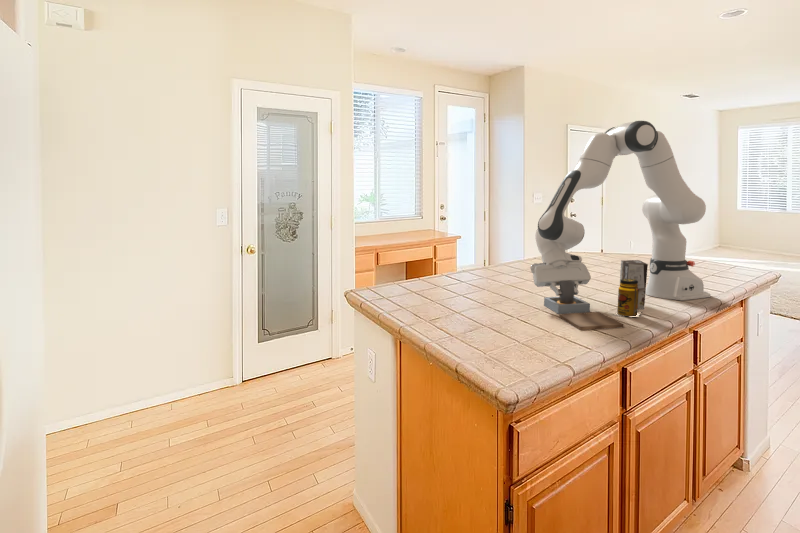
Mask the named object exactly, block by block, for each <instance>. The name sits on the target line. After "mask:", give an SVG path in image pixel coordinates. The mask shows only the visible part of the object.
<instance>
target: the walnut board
mask: <svg viewBox="0 0 800 533" xmlns="http://www.w3.org/2000/svg"><path fill="white" fill-rule="evenodd" d="M558 317H559V318H560V319H561V320H562V321H564V322H566V323H568V324H570V325H571V326H573V327H574V328H576V329H578V330H579V331H585V330H586V331H587V330H588V331H589V330H600V329H601V330H602V329H603V330H604V328H606V329H618V328H617V327H622V328H624V326H625V325H624V323H622V322H620V321H618V320H616V319H614V318H612V317H610V316H608V315H606V314H604V313H602V312H600V311H590V312H585V313H567V314H558Z"/></svg>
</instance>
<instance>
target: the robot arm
mask: <svg viewBox="0 0 800 533" xmlns="http://www.w3.org/2000/svg"><path fill="white" fill-rule="evenodd" d="M631 154H634V155H635V156H636V157H637V160H638V163H639V164H638V165H639V166H640V169H641V173H642V175H643V180H644V182H645V184H646V186H647V188H648V189H650V190H651V191H653V193H654V195H651V196H648V197H647V198H646V199H645V200H644V202H643V204H642V209H641V210H642V214H643V216H644V217H645V218H646V219H647V221H648V223H649V227H650V231H651V237H652V247H651V248H652V249H651V258H650V259H649V275H648V279H647V280H648V282H647V283H646V292H645V295H647V296H651V297H654V298H659V299H667V300H677V301H689V300H697V299H704V298H710V297H711V295H712V294H711V293H710V292H708V291H705V287H704V281H703V279H701V277H699V276H697V275H696V274H695V273H694V272H692V271H691V270H690V268H689V267H692V268H693V267H694V266H695V265H696V262H695V261H693V260H687V259H686V252H687V238H686V236H684V234H683V233H682V232H681V228H680V225H689V224H695V223H698V222H699V221H701V220H702V218H704V217H705V214H706V210H707V205H706V203H705V201H704V200H703V199H702V198H701V197H700V196H698V195H696V194H695V193H694V191H692V190H691V188H690V187H689V185H688V184H687V183H686V181H685V180H684V179H683V176H682V175H681V172H680V170H679V168H678V164H677V161H676V158H675V155H674V152H673V150H672V148H671V145H670V143H669V141H668V139H667V138H666V136H665V134H664V133H663V132H662V131H659V130H657V129H656V127H655V125H653V124H652V123H651V122H649V121H646V120H635V121H630V122H624V123H622V124H620V125H617V126H614V127H613V126H612V127H610V128H608V129H607V130H606V131H605V132H603V133H602V132H601V133H595V134H593V135H592V136H591V137H590V138H589V139H588V141H587V144H586V145H585V147H584V149H583V150H582V153H581V155H580V157H579V160H578V163H577V164H576V166H574V167H575V168H573V170H570V171H569V172H568V173H567V174H566V175H565V176H564V178H563V180H562V181H561V182H560V185H559V186H558V188H557V191H556V192H555V194H554V196H553V197H552V199H551V201H550V202H549V205H548V206H547V208H546V210H545V211H544V212H543V213H542V215H541V216H540V218H539V219H538V223H537V230H536V231H535V241H536V242H535V243H536V246H537V249H538V251H539V253H540V255H541V261H542V262H539V263H537V262H536V263H535V262H534V263H532V264H531V265H530V267H529V269H530V271H531V273H532V278H533V282H534V286H536V287H538V288H540V287H541V288H542V287H549V288H550V289H551V291H553V292H554V294H555V297H559V296H561V294H562V292H561V289H560V288H558V287H560V281H564V280H572V281H575V284H574V296H575V295H578V294H579V293H580V292H579V290H578V289H579V285H583V286H584V285H587V284H589V282H590V280H591V273H590V271H589V269H588V267H587V265H585V263H583V262H582V261H583V258H582V257H581V256H580V255H575V254H571V253H568V252H566V251H567V250H570V249H572V248H574V247H575V246H578V245H579V244H580V243H581V242H582V241H583V239H584V238H585V227H584V225H583V224H582V223H580V222H579V221H577V220H575V219H572V218H569V217H567V216H566V215H565V213H566V210H567V208H568V206H569V204H570V203H571V201H572V199H573V198H574V195H575V194H576V193H577V192H579V191H580V190H584V189H585V190H587V189H594V188H596V187H597V188H598V187H600V186H601V185H602V184H603V183H604V182H605V181H606V180H607V178H608V175H609V173H610V170H611V168H612V166H613V165H612V164H613V162H614V160H615V158H616V157H617V156H627V155H631Z"/></svg>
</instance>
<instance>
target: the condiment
mask: <svg viewBox="0 0 800 533" xmlns="http://www.w3.org/2000/svg"><path fill="white" fill-rule="evenodd" d="M617 294H618V296H617V308H616V309H617V311H616V312H615V313H614V314H613V315H614V316H619V315H621V316H619V317H623V316H636V315H637V312H638V310H639V309H638V295H639V289H638V281H637V280H635V279H621V280H620V279H619V286H618V293H617ZM640 312H641V313H642V314H643V313H644V312H643V311H640ZM616 313H617V314H618V315H616ZM642 314H640V316H641V315H642Z"/></svg>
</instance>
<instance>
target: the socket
mask: <svg viewBox="0 0 800 533" xmlns="http://www.w3.org/2000/svg"><path fill="white" fill-rule="evenodd" d="M557 301H559V296H550V297H549V296H548V297H544V299H543V306H544V307H546V308H548V309H550V310H551V311H552V312H554V313H556V314H557V315H559V314H569V313H587V312H591V303H590V302H588V301H585V300H583V299H581V298H579V297H577V296H575V295H574V302H576V304H558V303H557Z"/></svg>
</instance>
